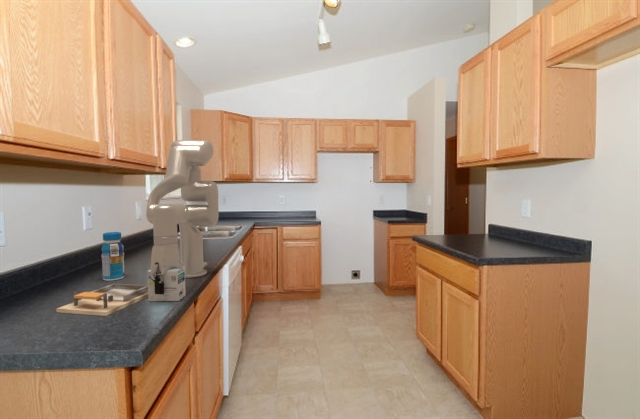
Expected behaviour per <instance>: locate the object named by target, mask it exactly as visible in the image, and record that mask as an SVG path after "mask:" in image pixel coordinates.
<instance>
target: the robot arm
mask: <svg viewBox="0 0 640 419" xmlns="http://www.w3.org/2000/svg"><path fill="white" fill-rule="evenodd" d="M213 155H214V146H213V144H212V142H210V140H206V139H203V140H202V139H200V140H198V139H179V140H174V141H172V142H171V144H170V149H169V153H168V157H167V163H166V172H165V177H164V178H163V179H161V181H160V182H159V183H158V184H156V185H155V187H154V188H153V189H152V191H150V193H149V196H148V200H147V205H146V211H145V212H146V214H145V216H146V219H147V221H148V222H149V223H150V224H152V227H153V228H152V229H153V245H152V249H151V255H150V270H151V271H150V273H149V275H150V277H151V279H152V280H153V283H155V294H164V282H163V279H164V275H165V274H166V273H167V271H168V270H170V269H173V268H176V267H185V279H188V278H189V279H191V278H198V277H203V276H205V275H207V274H208V270H207V269H206V268H205V267H206V266H208V262H207V261H204V239H203V233H202V231H201V230H200V229H199V228H198V227H203V226H205V227H207V226H209V227H211V226H215V225H217V223H218V222H219V218H220V215H219V214H220V213H219V211H220V210H219V208H220V207H219V188H218V185H217V183H216V182H215V181H213V180H202V170H201V168H200V167H205V166H207V164H208V163H209V162H210V161H211V159H212V158H213ZM177 190H180V196H181V199H182V201H184V202H191V203H193V202H194V203H196V202H197V203H198V202H201V203H203V202H205V203H206V204H183V203H160V201H161V200H162V199H163V198H164V197H165V196H167V195H168V194H170V193H172V192H175V191H177ZM178 226H179V243H180V244H179V245H178ZM179 246H180V249H179ZM204 268H205V269H204ZM157 271H161V273H157ZM158 276H160V278H159V277H158Z"/></svg>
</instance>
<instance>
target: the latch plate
mask: <svg viewBox="0 0 640 419" xmlns="http://www.w3.org/2000/svg"><path fill="white" fill-rule="evenodd" d="M103 294H104V293H96V292H91V291H83V292H80V293H77V295H74V294H73V299H74V298H78V300H81V299H94V300H96V299H99V298H101V297H103Z"/></svg>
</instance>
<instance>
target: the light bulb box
mask: <svg viewBox="0 0 640 419" xmlns="http://www.w3.org/2000/svg"><path fill="white" fill-rule="evenodd" d="M150 271H151V269H149V270H147V272H146V274H147V275H146V276H147V277H146V278H147V285H148V297H147V301H148V302H179V301H180V300H182V299H183V298H184V297H185V296H186V295H187V294H186V278H185V267H176V268H173V269H170V270H168V271H167V273H166V274H165V275H164V279H163V282H164V294H155V283H153V280H152V279H151V277H150V275H149V273H150ZM157 273H161V271H157ZM158 277H159V278H160V276H158Z"/></svg>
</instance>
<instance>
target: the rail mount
mask: <svg viewBox="0 0 640 419" xmlns="http://www.w3.org/2000/svg"><path fill="white" fill-rule="evenodd" d="M90 292H96V293H104V294H103V297H101V298H99V299H96V300H94V299H79V298H74V297H73V302H70V303H68V304H65V305H63V306H60V307H57V308H56V313H58V314H59V313H61V314H73V315H75V314H76V315H87V316H101V317H107V316H109V315H111V314H113V313H116V312H118V311H121V310H122V309H125V308H127V307H130V306H131V305H134V304H136V303H138V302H140V301H142V300H144V299H148V284H133V283H132V284H130V283H128V284H127V283H112V284H108V285H106V286H103V287H100V288H97V289H95V290H91V291H90ZM77 294H78V291H77V290H76V291H73V294H72V295H73V296H74V295H77Z"/></svg>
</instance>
